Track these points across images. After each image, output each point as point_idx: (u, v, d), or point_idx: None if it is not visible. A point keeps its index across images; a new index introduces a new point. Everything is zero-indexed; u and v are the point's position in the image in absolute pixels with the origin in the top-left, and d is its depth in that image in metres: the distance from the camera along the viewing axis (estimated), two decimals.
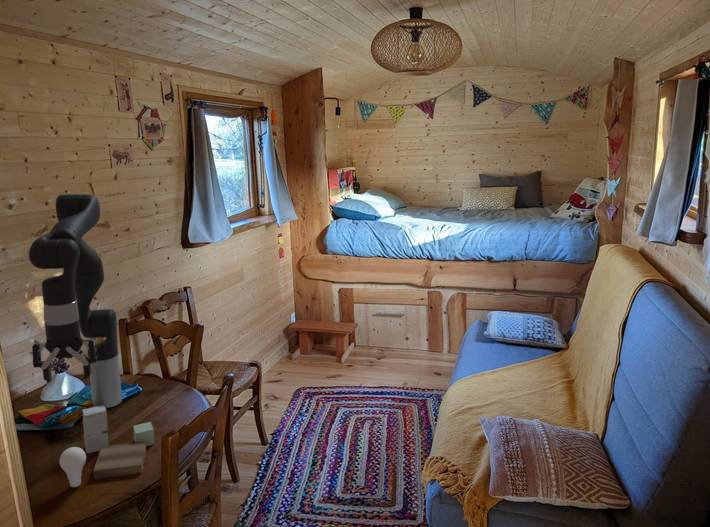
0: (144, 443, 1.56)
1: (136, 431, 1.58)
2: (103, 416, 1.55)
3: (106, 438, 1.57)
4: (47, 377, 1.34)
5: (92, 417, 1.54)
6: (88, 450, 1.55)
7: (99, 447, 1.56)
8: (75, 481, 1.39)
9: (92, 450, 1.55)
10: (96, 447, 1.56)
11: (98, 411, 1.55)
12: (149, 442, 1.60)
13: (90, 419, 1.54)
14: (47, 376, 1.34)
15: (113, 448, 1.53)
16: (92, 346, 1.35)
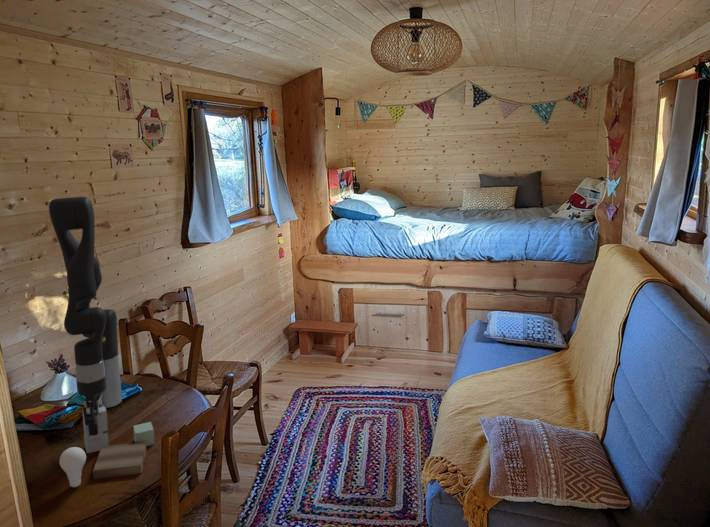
0: (144, 443, 1.56)
1: (136, 431, 1.58)
2: (103, 416, 1.55)
3: (106, 438, 1.57)
4: (97, 429, 1.54)
5: None
6: (88, 450, 1.55)
7: (99, 447, 1.56)
8: (75, 481, 1.39)
9: (92, 450, 1.55)
10: (96, 447, 1.56)
11: None
12: (149, 442, 1.60)
13: (90, 419, 1.54)
14: (97, 428, 1.54)
15: (113, 448, 1.53)
16: (101, 392, 1.61)
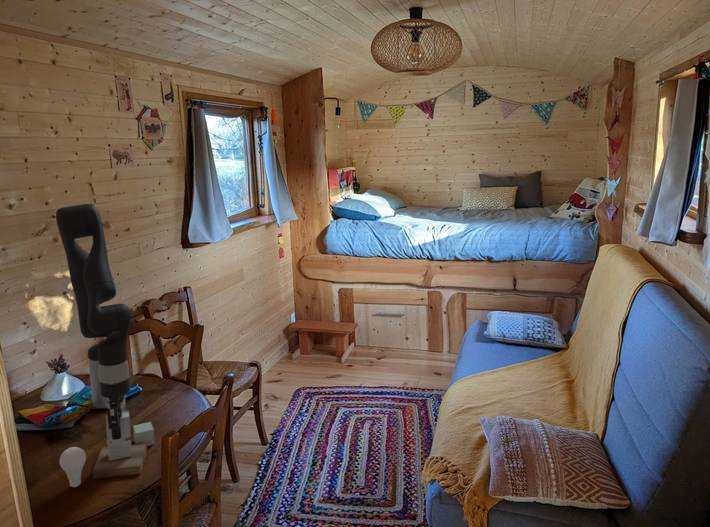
0: (145, 444, 1.56)
1: (136, 431, 1.58)
2: (126, 422, 1.48)
3: (129, 445, 1.49)
4: (120, 433, 1.45)
5: None
6: (110, 457, 1.48)
7: (121, 454, 1.49)
8: (75, 481, 1.39)
9: (114, 457, 1.48)
10: (118, 455, 1.48)
11: (121, 417, 1.47)
12: (149, 442, 1.60)
13: None
14: (120, 432, 1.45)
15: None
16: None
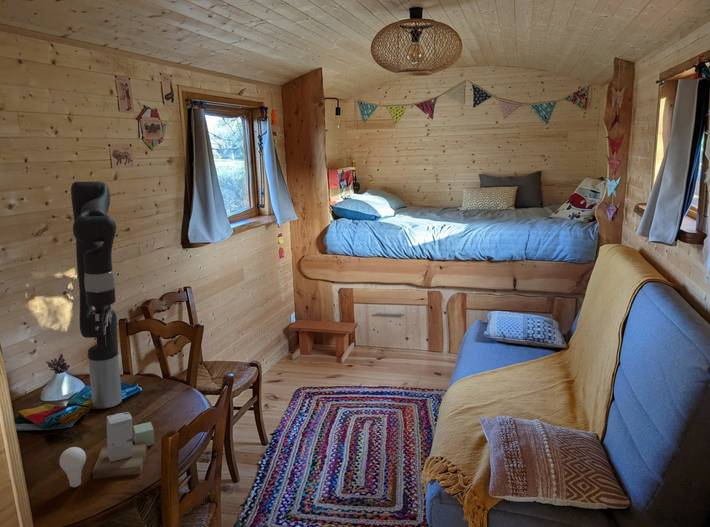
0: (145, 444, 1.56)
1: (136, 431, 1.58)
2: (128, 424, 1.47)
3: (130, 446, 1.49)
4: (105, 341, 1.50)
5: (117, 426, 1.45)
6: (112, 458, 1.47)
7: (123, 455, 1.48)
8: (75, 481, 1.39)
9: (115, 458, 1.47)
10: (120, 456, 1.48)
11: (124, 419, 1.46)
12: (149, 442, 1.60)
13: (116, 427, 1.45)
14: (105, 340, 1.50)
15: None
16: (110, 305, 1.58)
